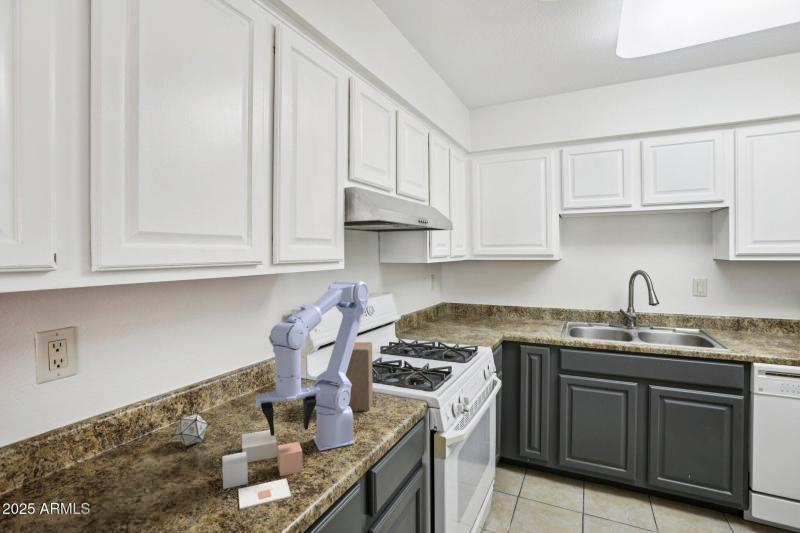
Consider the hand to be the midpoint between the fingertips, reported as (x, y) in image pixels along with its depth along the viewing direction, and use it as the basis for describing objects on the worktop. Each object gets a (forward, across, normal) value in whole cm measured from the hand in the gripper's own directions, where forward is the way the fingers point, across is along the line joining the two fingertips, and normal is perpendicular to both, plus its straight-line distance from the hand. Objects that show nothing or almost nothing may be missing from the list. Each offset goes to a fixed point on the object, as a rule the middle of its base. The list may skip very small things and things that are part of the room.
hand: (289, 431), depth 96 cm
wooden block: (+9, +26, +31) cm, 41 cm away
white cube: (+9, -12, 0) cm, 15 cm away
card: (+9, -6, -8) cm, 14 cm away
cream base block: (+9, -6, +11) cm, 16 cm away
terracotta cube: (+9, 0, 0) cm, 9 cm away
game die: (+9, -22, +23) cm, 33 cm away
